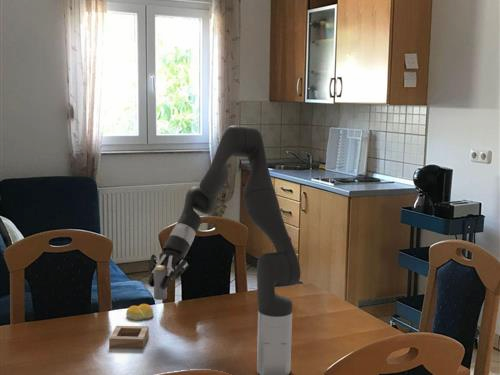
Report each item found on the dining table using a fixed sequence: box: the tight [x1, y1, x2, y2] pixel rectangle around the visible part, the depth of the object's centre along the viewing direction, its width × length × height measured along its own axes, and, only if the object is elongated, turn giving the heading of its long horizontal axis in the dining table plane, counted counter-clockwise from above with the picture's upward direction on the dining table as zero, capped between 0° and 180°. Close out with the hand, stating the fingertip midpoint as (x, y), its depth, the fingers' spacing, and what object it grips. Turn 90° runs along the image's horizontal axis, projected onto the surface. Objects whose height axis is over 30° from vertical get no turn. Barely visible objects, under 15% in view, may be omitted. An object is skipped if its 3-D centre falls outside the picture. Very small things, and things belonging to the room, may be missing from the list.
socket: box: [108, 325, 150, 350], centre depth 180 cm, size 10×10×3 cm
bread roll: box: [125, 303, 154, 321], centre depth 201 cm, size 8×9×4 cm
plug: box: [153, 265, 168, 301], centre depth 184 cm, size 4×4×10 cm
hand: (156, 286), depth 182 cm, fingers closed on plug, 4 cm apart
